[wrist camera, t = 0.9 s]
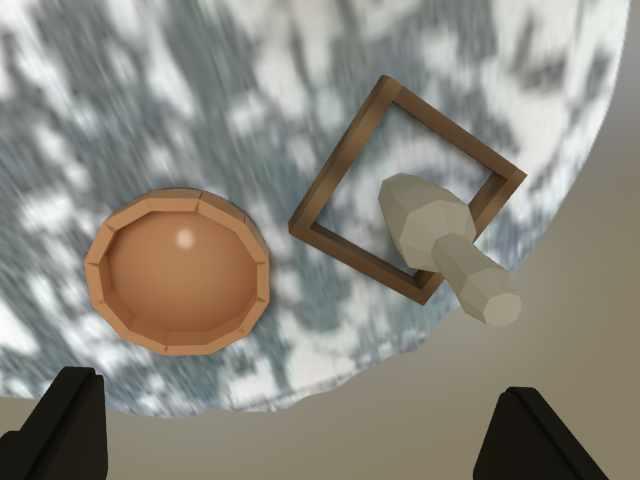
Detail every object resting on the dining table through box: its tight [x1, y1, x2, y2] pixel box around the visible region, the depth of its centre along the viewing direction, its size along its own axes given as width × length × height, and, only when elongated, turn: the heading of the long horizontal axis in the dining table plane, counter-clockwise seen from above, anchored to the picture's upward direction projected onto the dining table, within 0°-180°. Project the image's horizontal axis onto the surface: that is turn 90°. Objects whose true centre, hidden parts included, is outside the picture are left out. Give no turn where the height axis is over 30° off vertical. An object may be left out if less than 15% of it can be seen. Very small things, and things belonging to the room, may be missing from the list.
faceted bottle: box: [378, 173, 522, 327], centre depth 35 cm, size 6×6×22 cm
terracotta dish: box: [84, 187, 270, 356], centre depth 45 cm, size 17×17×4 cm
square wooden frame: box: [288, 75, 527, 306], centre depth 44 cm, size 17×17×3 cm
